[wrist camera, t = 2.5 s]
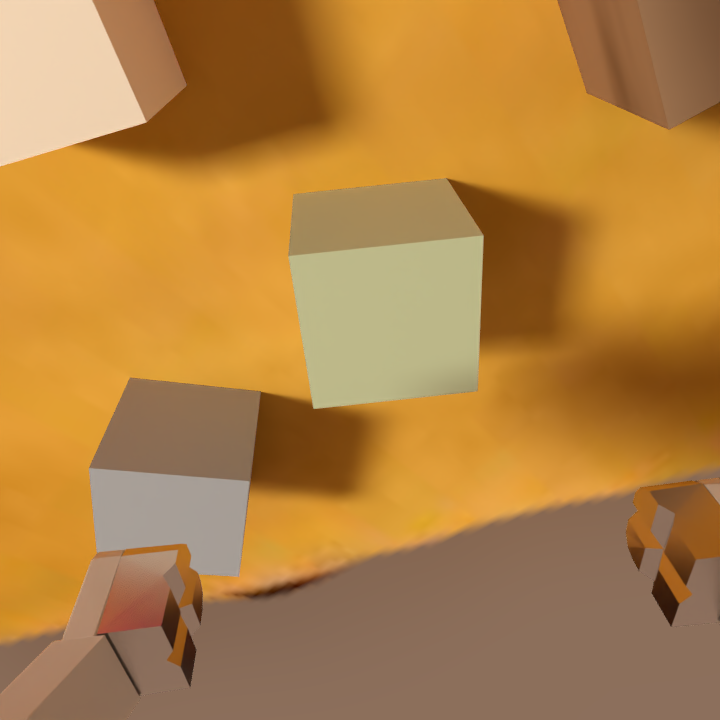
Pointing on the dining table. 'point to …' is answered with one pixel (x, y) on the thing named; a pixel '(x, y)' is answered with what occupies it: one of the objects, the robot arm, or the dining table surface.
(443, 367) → the cube sage
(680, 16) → the cube walnut
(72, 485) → the dining table surface
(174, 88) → the cube offwhite
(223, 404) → the cube slate
